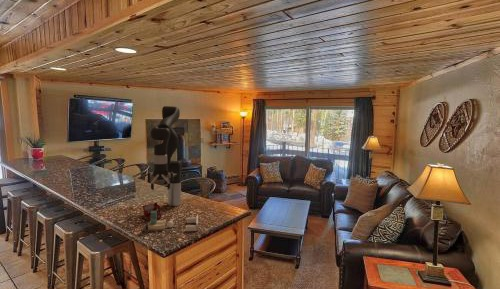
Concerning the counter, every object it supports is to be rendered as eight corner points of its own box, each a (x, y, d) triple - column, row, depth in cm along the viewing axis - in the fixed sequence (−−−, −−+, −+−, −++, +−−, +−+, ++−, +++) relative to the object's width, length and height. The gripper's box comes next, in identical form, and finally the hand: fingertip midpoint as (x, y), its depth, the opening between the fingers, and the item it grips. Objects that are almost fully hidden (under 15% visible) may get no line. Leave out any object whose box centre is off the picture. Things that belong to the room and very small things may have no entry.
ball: (167, 225, 162) (167, 219, 161) (173, 225, 163) (174, 219, 162) (166, 228, 158) (166, 222, 157) (173, 228, 159) (173, 222, 158)
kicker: (150, 224, 162) (150, 209, 161) (165, 223, 164) (165, 209, 162) (148, 229, 154) (147, 214, 153) (164, 229, 156) (164, 213, 155)
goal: (186, 222, 168) (186, 215, 168) (198, 221, 170) (198, 215, 169) (185, 231, 156) (185, 223, 155) (197, 230, 157) (197, 223, 156)
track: (147, 224, 162) (147, 221, 162) (180, 223, 166) (180, 220, 165) (144, 231, 153) (144, 227, 153) (178, 230, 157) (178, 226, 157)
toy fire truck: (164, 217, 174) (164, 202, 173) (146, 223, 165) (146, 207, 164) (158, 215, 179) (158, 200, 177) (140, 220, 169) (140, 204, 168)
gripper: (173, 161, 158) (173, 187, 160) (148, 161, 155) (148, 188, 157) (172, 163, 151) (172, 191, 153) (146, 163, 148) (146, 191, 150)
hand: (160, 189), depth 155 cm, fingers open, 8 cm apart
